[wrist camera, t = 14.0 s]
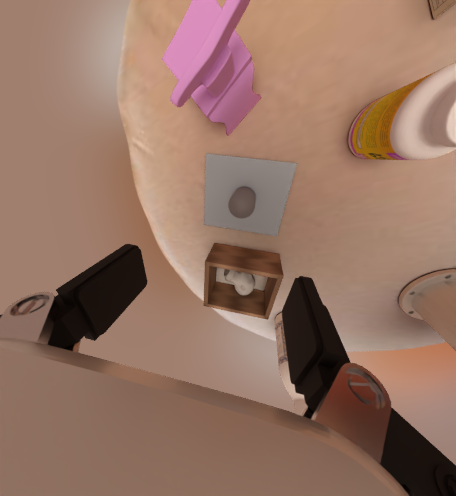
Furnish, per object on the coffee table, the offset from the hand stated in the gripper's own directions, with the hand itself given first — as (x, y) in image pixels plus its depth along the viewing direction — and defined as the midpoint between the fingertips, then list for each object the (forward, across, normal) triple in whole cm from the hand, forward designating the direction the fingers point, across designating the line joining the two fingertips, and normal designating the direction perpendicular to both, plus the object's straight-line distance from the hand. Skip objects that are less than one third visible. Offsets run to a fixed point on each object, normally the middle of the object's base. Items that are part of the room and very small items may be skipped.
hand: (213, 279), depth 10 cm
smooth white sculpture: (+22, -2, +17) cm, 28 cm away
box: (+22, -2, +16) cm, 27 cm away
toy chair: (+22, +5, -14) cm, 27 cm away
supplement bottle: (+22, -16, -11) cm, 30 cm away
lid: (+23, 0, 0) cm, 23 cm away
